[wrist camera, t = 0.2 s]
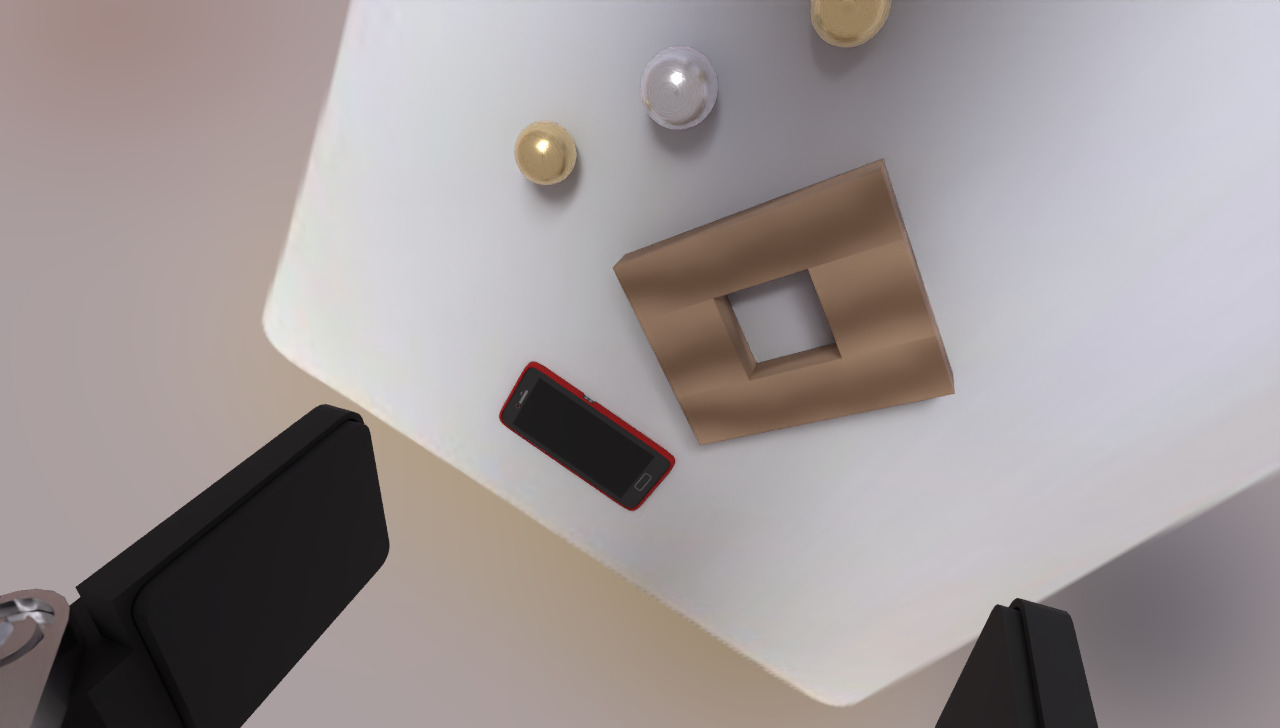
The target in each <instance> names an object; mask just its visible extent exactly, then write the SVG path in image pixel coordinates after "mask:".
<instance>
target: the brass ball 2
mask: <svg viewBox="0 0 1280 728" xmlns="http://www.w3.org/2000/svg"><path fill="white" fill-rule="evenodd" d="M891 2H892V0H811V4H810V15H811V21H812V24H813V26H814V29H815V30H816V32H817V34H818V35H819V36H820V37H821V38H822V39H823V40H824V41H825V42H827V43H829V44H831V45H833V46H836V47H841V48H850V47H855V46H859V45H861V44H863V43H865V42H867V41H869V40H870V39H871V38H873V37H874V36H875V35H876V34H877V33H878V32H879V31H880V30H881V28H882V27H883V25H884V24H885V22H886V20H887V18H888V15H889V12H890V9H891Z"/></svg>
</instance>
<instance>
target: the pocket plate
mask: <svg viewBox="0 0 1280 728" xmlns="http://www.w3.org/2000/svg"><path fill="white" fill-rule="evenodd" d="M613 269H614V271H615V274H616V276H617V278H618V280H619V282H620V284H621V286H622V288H623V290H624V292H625V294H626V296H627V298H628V300H629V302H630V304H631V306H632V308H633V310H634V312H635V314H636V316H637V318H638V320H639V322H640V324H641V326H642V328H643V330H644V333H645V335H646V337H647V339H648V341H649V343H650V345H651V347H652V349H653V351H654V353H655V355H656V357H657V359H658V361H659V363H660V365H661V367H662V369H663V371H664V373H665V375H666V377H667V379H668V381H669V383H670V385H671V387H672V389H673V391H674V394H675V396H676V398H677V400H678V402H679V404H680V406H681V408H682V410H683V412H684V414H685V416H686V418H687V420H688V422H689V424H690V426H691V428H692V430H693V432H694V434H695V436H696V438H697V440H698V442H699V444H700V445H703V444H708V443H713V442H718V441H723V440H728V439H733V438H738V437H743V436H748V435H753V434H758V433H763V432H768V431H773V430H777V429H782V428H787V427H792V426H797V425H802V424H807V423H812V422H817V421H822V420H827V419H832V418H837V417H842V416H847V415H851V414H856V413H861V412H866V411H871V410H876V409H881V408H886V407H891V406H896V405H901V404H906V403H911V402H916V401H921V400H926V399H930V398H935V397H940V396H945V395H950V394H955V392H954V380H953V372H952V369H951V366H950V363H949V360H948V357H947V354H946V351H945V348H944V345H943V342H942V339H941V336H940V333H939V329H938V326H937V323H936V320H935V317H934V314H933V311H932V308H931V305H930V302H929V299H928V296H927V293H926V290H925V287H924V283H923V280H922V277H921V274H920V271H919V268H918V265H917V262H916V259H915V256H914V253H913V250H912V247H911V244H910V241H909V237H908V234H907V231H906V228H905V225H904V222H903V219H902V216H901V213H900V210H899V207H898V204H897V201H896V198H895V194H894V191H893V188H892V185H891V182H890V179H889V176H888V173H887V170H886V167H885V164H884V161H883V159H881V160H878V161H876V162H873V163H870V164H867V165H865V166H862V167H859V168H857V169H854V170H851V171H849V172H846V173H843V174H841V175H838V176H835V177H833V178H830V179H827V180H824V181H822V182H819V183H816V184H814V185H811V186H808V187H806V188H803V189H800V190H798V191H795V192H792V193H790V194H787V195H784V196H781V197H779V198H776V199H773V200H771V201H768V202H765V203H763V204H760V205H757V206H755V207H752V208H749V209H747V210H744V211H741V212H738V213H736V214H733V215H730V216H728V217H725V218H722V219H720V220H717V221H714V222H712V223H709V224H706V225H704V226H701V227H698V228H695V229H693V230H690V231H687V232H685V233H682V234H679V235H677V236H674V237H671V238H669V239H666V240H663V241H661V242H658V243H655V244H652V245H650V246H647V247H644V248H642V249H639V250H636V251H634V252H631V253H628V254H626V255H624V256H623V258H622V259H621V260H620V261H619V262H618V263H617V264H616V265H615V266H614V267H613ZM806 269H808V271H809V274H810V276H811V279H812V282H813V284H814V287H815V289H816V292H817V294H818V297H819V300H820V302H821V305H822V307H823V310H824V313H825V315H826V318H827V320H828V323H829V326H830V328H831V331H832V333H833V336H834V338H835V341H836V343H834V344H830V345H826V346H822V347H818V348H814V349H810V350H807V351H803V352H799V353H795V354H791V355H787V356H783V357H779V358H775V359H771V360H767V361H763V362H760V363H756V362H755V359H754V357H753V355H752V352H751V350H750V348H749V346H748V343H747V341H746V339H745V336H744V334H743V332H742V329H741V327H740V325H739V323H738V320H737V318H736V316H735V313H734V311H733V309H732V307H731V304H730V302H729V300H728V297H727V295H726V294H730V293H733V292H736V291H739V290H742V289H745V288H749V287H752V286H755V285H758V284H761V283H765V282H768V281H771V280H774V279H777V278H781V277H784V276H787V275H790V274H793V273H797V272H800V271H803V270H806Z"/></svg>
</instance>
